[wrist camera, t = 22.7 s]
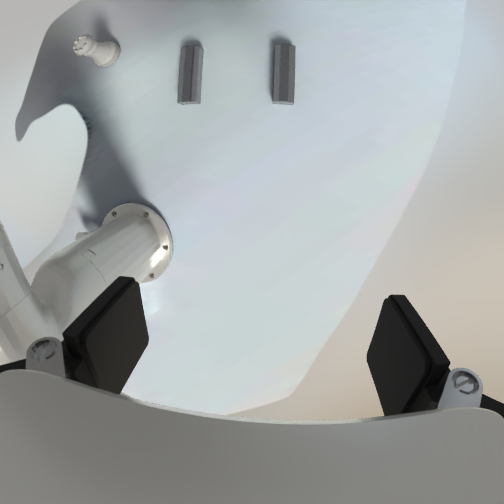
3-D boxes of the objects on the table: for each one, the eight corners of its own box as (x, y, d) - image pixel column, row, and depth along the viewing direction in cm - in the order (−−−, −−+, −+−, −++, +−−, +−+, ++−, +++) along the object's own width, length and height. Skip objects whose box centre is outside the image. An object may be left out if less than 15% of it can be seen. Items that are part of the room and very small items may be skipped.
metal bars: (182, 104, 33) (176, 102, 30) (185, 52, 30) (180, 47, 28) (292, 104, 32) (294, 102, 30) (294, 50, 29) (295, 44, 27)
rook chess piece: (93, 60, 30) (62, 50, 23) (111, 38, 29) (83, 24, 21) (107, 73, 31) (75, 63, 24) (126, 51, 30) (97, 36, 22)
